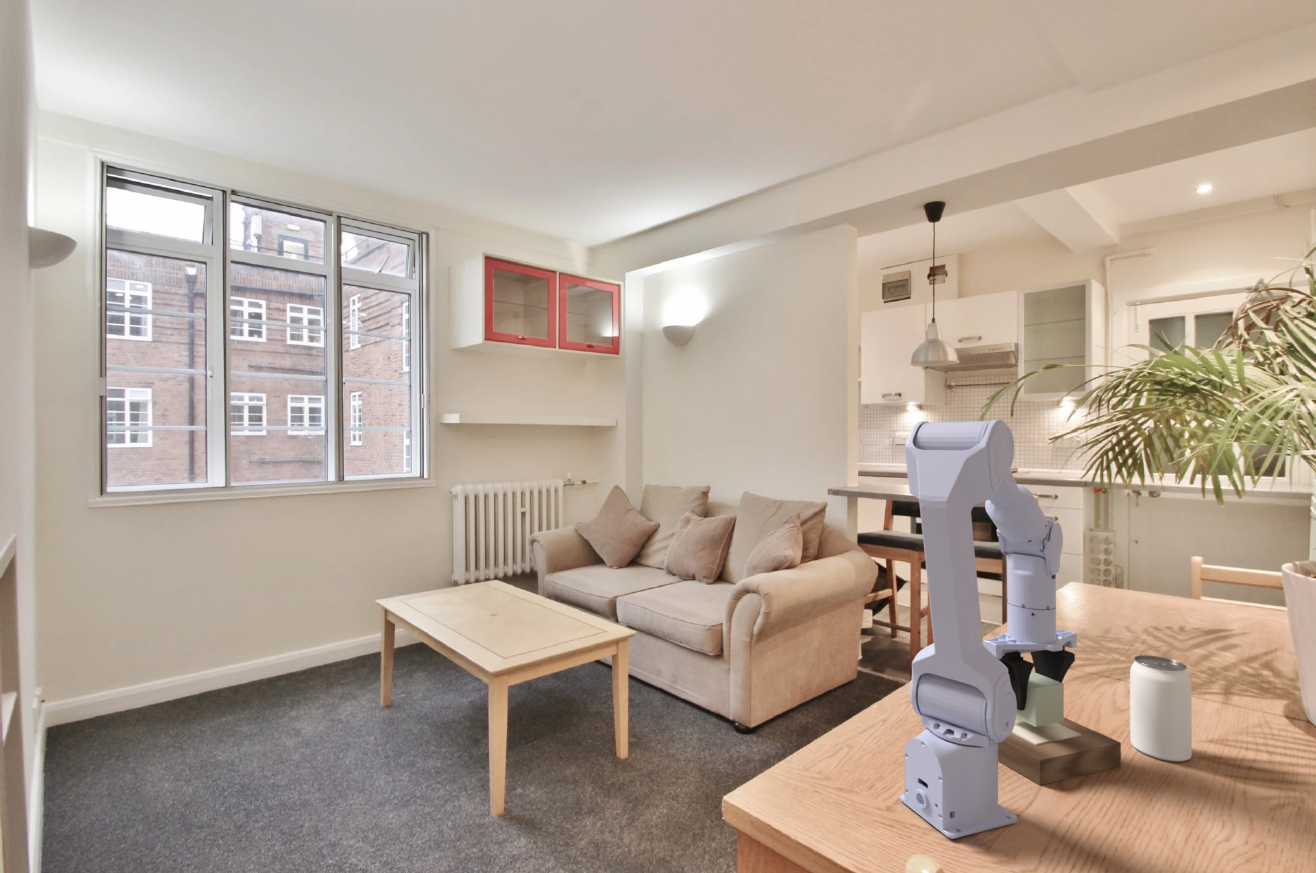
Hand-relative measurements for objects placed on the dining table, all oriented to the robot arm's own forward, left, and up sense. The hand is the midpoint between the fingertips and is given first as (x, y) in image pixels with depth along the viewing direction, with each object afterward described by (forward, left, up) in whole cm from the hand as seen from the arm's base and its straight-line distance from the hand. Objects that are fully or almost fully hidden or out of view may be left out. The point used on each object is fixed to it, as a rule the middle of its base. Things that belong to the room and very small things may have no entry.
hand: (1031, 704), depth 85 cm
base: (0, 0, -6) cm, 6 cm away
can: (+16, -6, -6) cm, 18 cm away
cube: (0, 0, -2) cm, 2 cm away
